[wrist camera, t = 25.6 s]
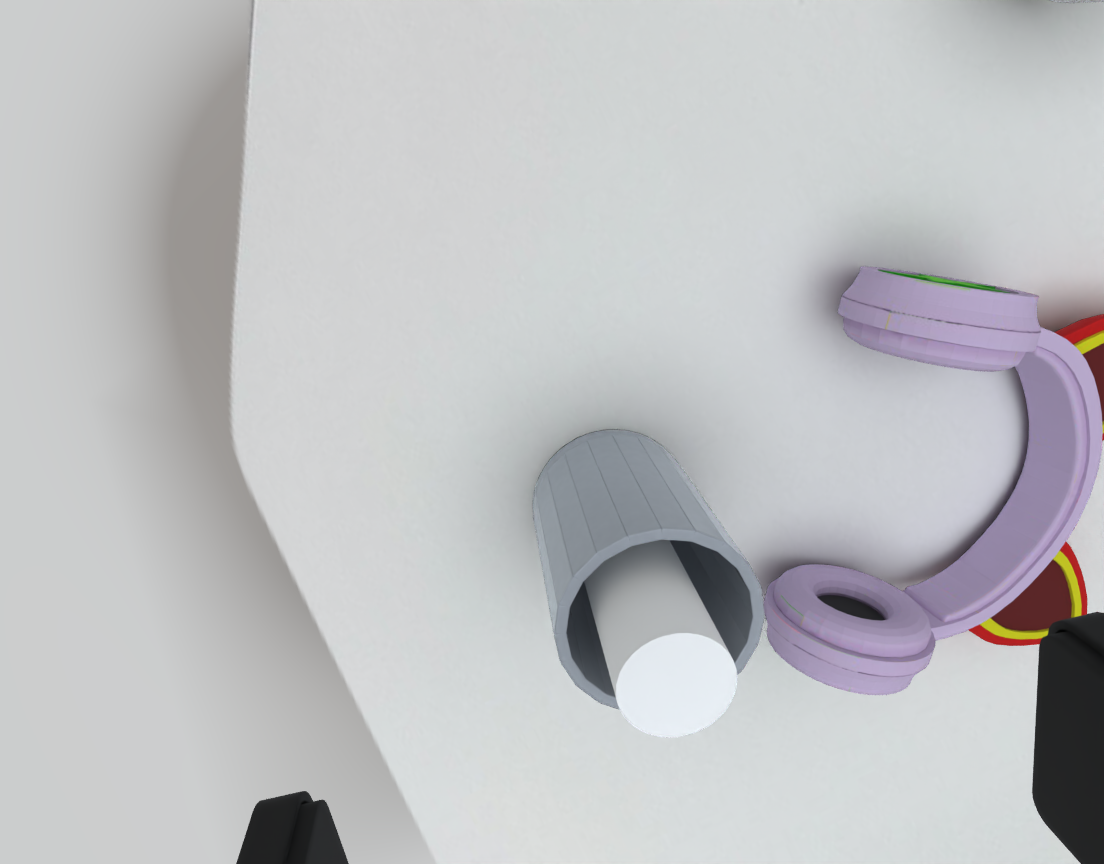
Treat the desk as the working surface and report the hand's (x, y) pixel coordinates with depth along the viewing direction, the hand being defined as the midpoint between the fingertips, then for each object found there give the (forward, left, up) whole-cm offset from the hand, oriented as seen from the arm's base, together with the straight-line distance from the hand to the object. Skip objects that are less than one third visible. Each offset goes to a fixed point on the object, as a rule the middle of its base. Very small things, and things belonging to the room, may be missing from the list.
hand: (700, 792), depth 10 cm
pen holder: (+2, -10, -30) cm, 32 cm away
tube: (+2, -10, -30) cm, 31 cm away
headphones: (+21, -12, -31) cm, 39 cm away
